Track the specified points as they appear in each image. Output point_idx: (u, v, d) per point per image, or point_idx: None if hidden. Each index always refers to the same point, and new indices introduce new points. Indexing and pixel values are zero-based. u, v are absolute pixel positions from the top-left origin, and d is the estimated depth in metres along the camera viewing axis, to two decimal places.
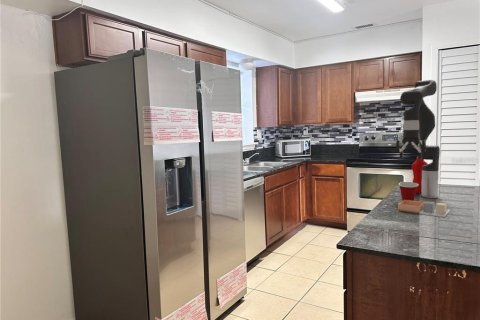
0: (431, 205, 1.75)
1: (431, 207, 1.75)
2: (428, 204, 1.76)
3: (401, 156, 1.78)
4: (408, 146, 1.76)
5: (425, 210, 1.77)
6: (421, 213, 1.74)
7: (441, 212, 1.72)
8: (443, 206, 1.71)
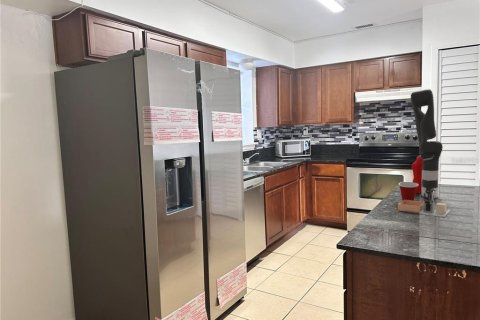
0: (431, 205, 1.75)
1: (431, 207, 1.75)
2: None
3: (430, 208, 1.75)
4: None
5: (425, 210, 1.77)
6: (421, 213, 1.74)
7: (441, 212, 1.72)
8: (443, 206, 1.71)
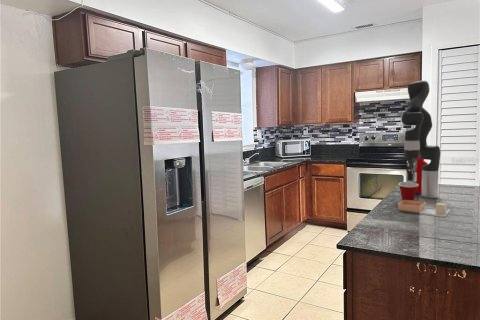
0: (413, 175, 1.79)
1: (413, 176, 1.79)
2: None
3: (412, 177, 1.79)
4: None
5: (407, 180, 1.81)
6: (421, 213, 1.74)
7: (441, 212, 1.72)
8: (443, 206, 1.71)
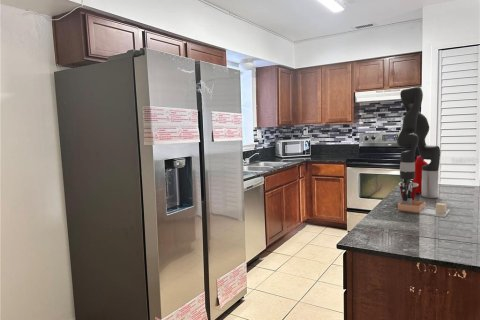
0: (408, 201, 1.82)
1: (408, 203, 1.82)
2: None
3: None
4: None
5: None
6: (421, 213, 1.74)
7: (441, 212, 1.72)
8: (443, 206, 1.71)
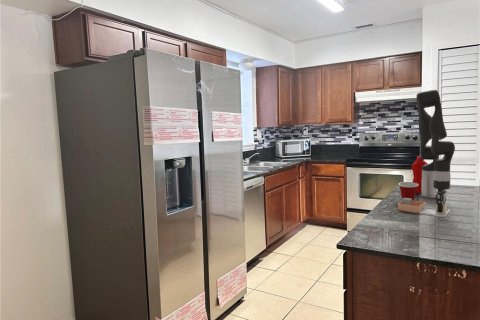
0: (408, 201, 1.82)
1: (408, 203, 1.82)
2: (405, 200, 1.83)
3: (442, 209, 1.71)
4: None
5: None
6: (421, 213, 1.74)
7: None
8: (443, 206, 1.71)
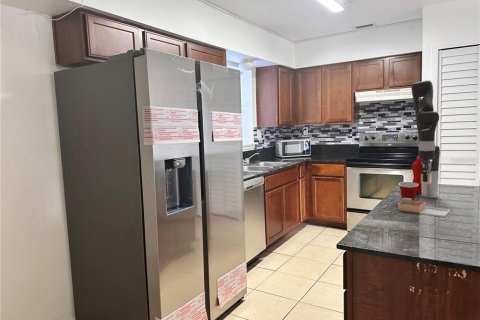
0: (408, 201, 1.82)
1: (408, 203, 1.82)
2: (405, 200, 1.83)
3: (427, 179, 1.75)
4: None
5: None
6: (421, 213, 1.74)
7: None
8: (428, 175, 1.75)
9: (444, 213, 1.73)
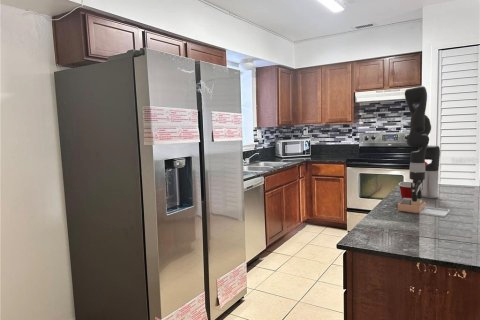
0: (408, 201, 1.82)
1: (408, 203, 1.82)
2: (405, 200, 1.83)
3: (416, 199, 1.77)
4: (418, 187, 1.79)
5: None
6: (421, 213, 1.74)
7: None
8: (418, 202, 1.79)
9: (444, 213, 1.73)
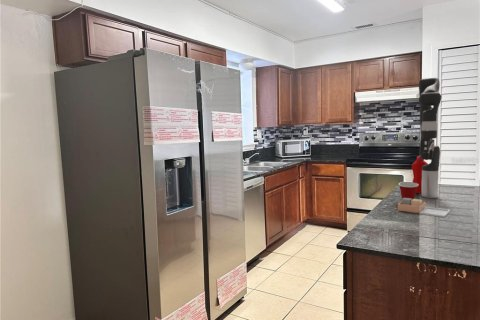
0: (408, 201, 1.82)
1: (408, 203, 1.82)
2: (405, 200, 1.83)
3: (428, 157, 1.78)
4: (430, 146, 1.80)
5: None
6: (421, 213, 1.74)
7: None
8: (418, 202, 1.79)
9: (444, 213, 1.73)
